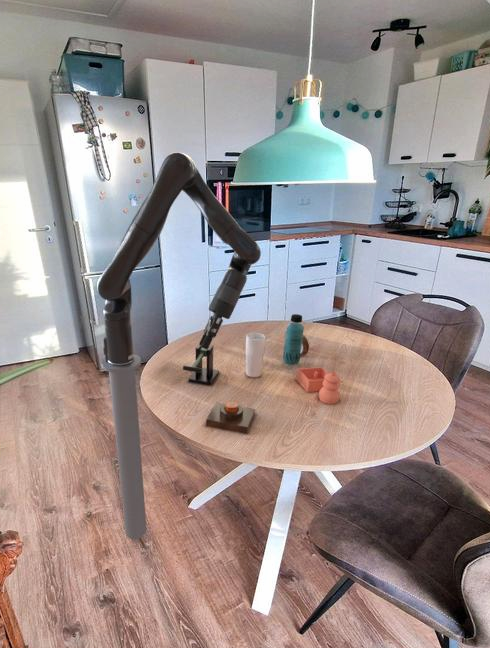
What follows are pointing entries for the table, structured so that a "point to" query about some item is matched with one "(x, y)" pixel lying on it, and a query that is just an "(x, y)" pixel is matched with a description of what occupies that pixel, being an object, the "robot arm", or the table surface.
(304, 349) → the brown curved piece
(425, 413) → the table surface
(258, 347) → the drinking glass
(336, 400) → the pottery
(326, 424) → the table surface
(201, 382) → the lever stand
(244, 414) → the button block
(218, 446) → the table surface
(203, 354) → the lever
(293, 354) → the beverage bottle
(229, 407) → the button
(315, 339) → the table surface
